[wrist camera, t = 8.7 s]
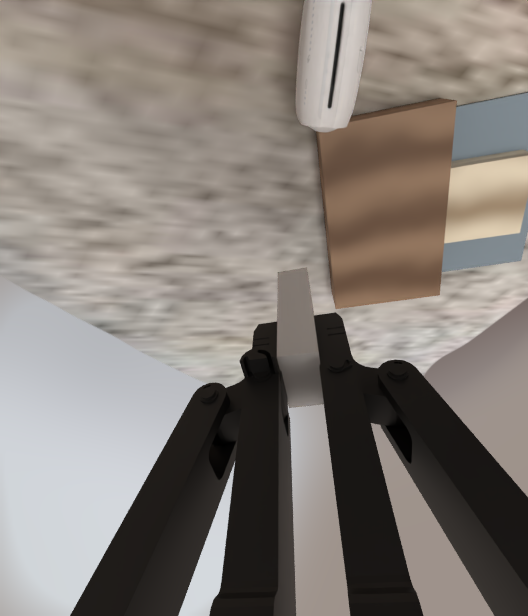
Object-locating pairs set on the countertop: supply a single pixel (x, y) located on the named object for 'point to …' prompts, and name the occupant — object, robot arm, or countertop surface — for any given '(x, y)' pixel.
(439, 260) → the board
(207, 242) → the countertop surface
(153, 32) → the countertop surface
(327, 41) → the photo printer
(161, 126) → the countertop surface
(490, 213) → the birch tile
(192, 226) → the countertop surface
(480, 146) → the rubber mat
